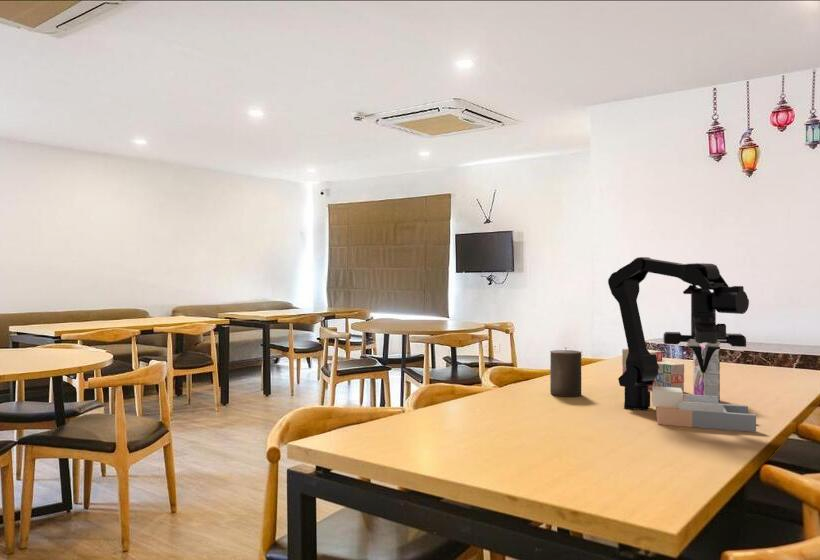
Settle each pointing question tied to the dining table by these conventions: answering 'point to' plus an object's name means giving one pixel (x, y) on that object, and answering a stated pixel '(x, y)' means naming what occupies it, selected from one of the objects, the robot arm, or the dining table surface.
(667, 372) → the stack of blocks
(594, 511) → the dining table surface
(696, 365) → the candy bar box
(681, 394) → the cream block
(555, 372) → the pillar candle
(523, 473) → the dining table surface
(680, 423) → the grey piece
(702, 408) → the channel walls
